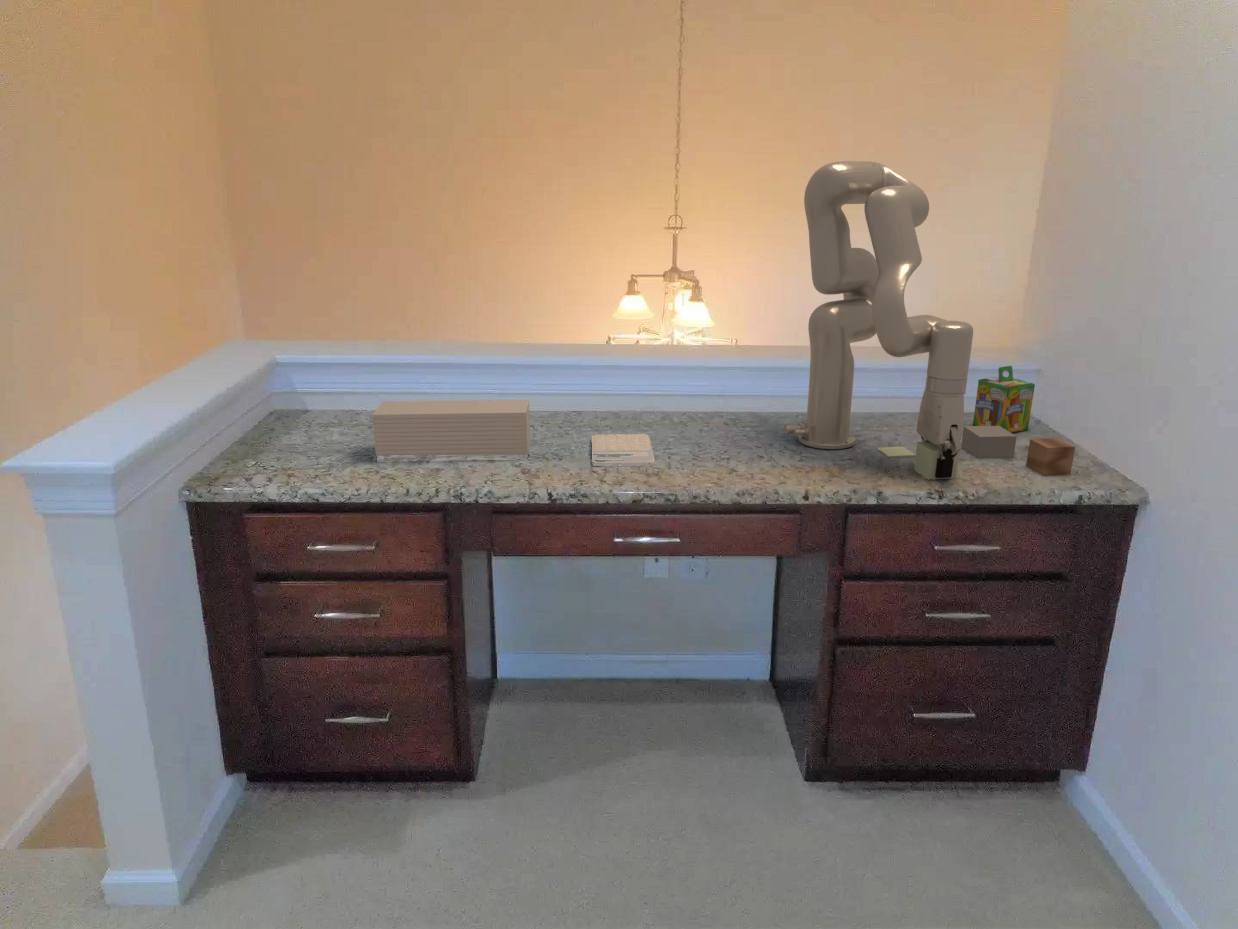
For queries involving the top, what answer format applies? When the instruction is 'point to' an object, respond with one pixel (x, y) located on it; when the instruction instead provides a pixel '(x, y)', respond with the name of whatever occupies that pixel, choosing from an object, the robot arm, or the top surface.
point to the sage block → (931, 460)
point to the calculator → (623, 448)
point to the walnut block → (1050, 456)
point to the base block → (988, 441)
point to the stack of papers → (452, 427)
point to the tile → (895, 452)
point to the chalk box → (1004, 402)
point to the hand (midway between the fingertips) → (935, 471)
